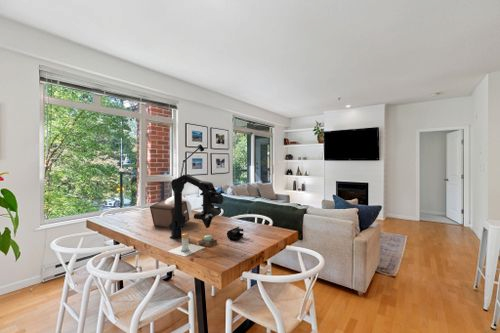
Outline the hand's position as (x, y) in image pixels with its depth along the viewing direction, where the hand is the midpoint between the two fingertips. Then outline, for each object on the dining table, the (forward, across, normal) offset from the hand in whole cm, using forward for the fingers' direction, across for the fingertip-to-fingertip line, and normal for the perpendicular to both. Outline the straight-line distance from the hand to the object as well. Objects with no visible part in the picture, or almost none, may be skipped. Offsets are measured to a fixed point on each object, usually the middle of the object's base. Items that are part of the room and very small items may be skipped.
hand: (207, 227), depth 147 cm
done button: (+8, 0, 0) cm, 8 cm away
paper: (+10, -14, +4) cm, 18 cm away
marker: (+10, -16, +3) cm, 19 cm away
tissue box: (+10, +22, +55) cm, 60 cm away
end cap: (+10, +17, -9) cm, 22 cm away
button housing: (+10, 0, 0) cm, 10 cm away
